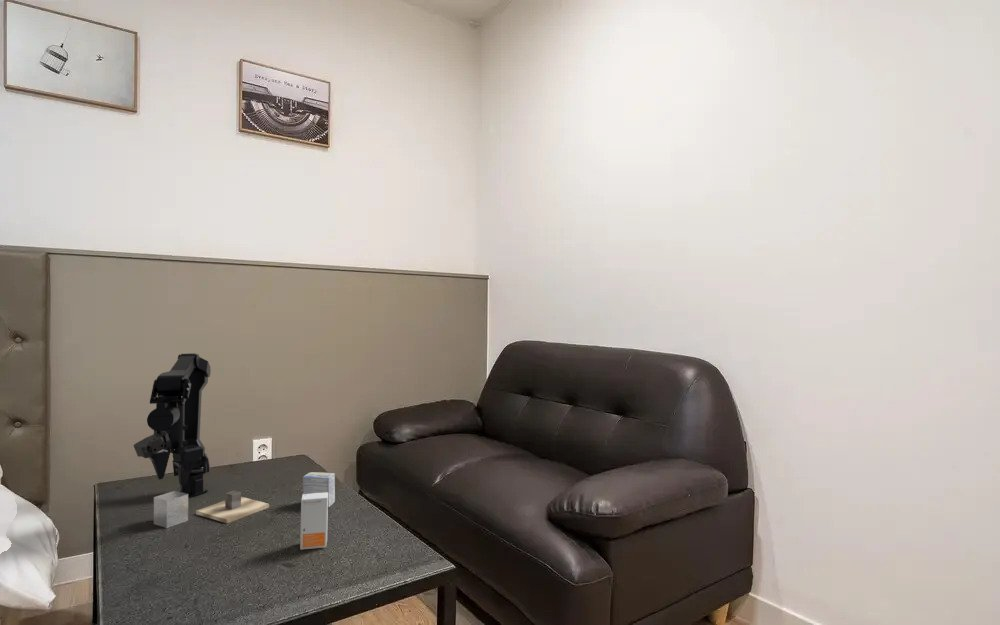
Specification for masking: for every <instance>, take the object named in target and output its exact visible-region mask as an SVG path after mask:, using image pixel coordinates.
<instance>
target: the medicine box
mask: <svg viewBox="0 0 1000 625" xmlns="http://www.w3.org/2000/svg"><path fill="white" fill-rule="evenodd" d="M335 487H336V473H334V472H319V471H318V472H312V471H311V472H308V473H307V474H305V475H304V476H302V494H312V493H325V492H328V508H330V507H331V506H332V505H333V504H334V503H335V501H336V496H335V495H336V492H335V490H336V488H335Z"/></svg>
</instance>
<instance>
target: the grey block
mask: <svg viewBox="0 0 1000 625" xmlns="http://www.w3.org/2000/svg"><path fill="white" fill-rule="evenodd" d="M188 521H189V498H188V494H186V493H182V492H179V491H177V490H173V491H169V492H166V493H163V494H160V495H157V496H153V525H156V526H159V527H162V528H165V529H168V528H171V527H175V526H176V525H179V524H182V523H185V522H188Z"/></svg>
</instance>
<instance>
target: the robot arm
mask: <svg viewBox="0 0 1000 625" xmlns="http://www.w3.org/2000/svg"><path fill="white" fill-rule="evenodd" d="M211 369H212V368H211V365H210V363H209V361H208V360H207V359H204V358H203V357H201V356H200V354H199V353H193V352H192V353H189V352H187V353H180V354H178V356H177V360H176V362H175V363H174V364H173V365H172V367H171V369H170V370H169V371H165V372H161V373H159V375H158V376H157V377H156V379H154V380H153V384H152V389H151V394H150V399H149V404H150V405H153V404H155V405H156V407H155V408H154V409H153V410H152V411H150V412H149V413H148V416H147V417H146V418H147V419H146V423H147V425H148V427H149V428H150V429H151V430H152V431H153V434H152V435H151V434H150V435H149V436H146V437H145V438H143V439H141V440H139V441H138V442H135V443H134V444H133V445H132V446H133V448H134V451H135V453H136V455H137V457H139V458H140V457H141V458H143V459H149V460H150V461H151V463H152V466H153V468H154V471H155V474H156V477H157V479H158V481H159V480H163V479H164V478H165V474H166V472H167V471H166V470H167V466H168V463H169V459H170V456H171V454H172V458H173V459H172V461H171V462H172V467H173V476H174V477H177V476H178V483H179V491H178V492H182V493H186V494H188V499H189V498H192V497H195V496H199V495H201V494H205V493H207V492H209V490H208V489H206V488H204V475H206V474H207V473H210V471H211V467H210V466H211V465H210V459H209V457H208V454H207V453H206V446H205V445H204V444H203V442H202V441H201V439H200V438H201V437H200V435H201V434H200V433H201V418H202V416H201V413H202V391H203V390H204V388H205V387H206V386H207V384H208V382H209V378H210V376H211V372H212V371H211Z"/></svg>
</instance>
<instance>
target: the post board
mask: <svg viewBox="0 0 1000 625" xmlns="http://www.w3.org/2000/svg"><path fill="white" fill-rule="evenodd" d="M224 494H225V496H224V497H225V499H224V500H223V501H220V502H217V503H214V504H211V505H208V506H205V507H203V508H199V509H197V510H195V515H197V516H200V517H204V518H208V519H211V520H214V521H218V522H221V523H225V524H230V523H233V522H235V521H238V520H240V519H242V518H246V517H248V516H251V515H253V514H256V513H258V512H261V511H264V510H266V509H269V508H270V504H269V503H266V502H264V501H260V500H256V499H252V498H248V497H245V496H242V492H241V491H237V490H231V491H228V492H226V493H224Z"/></svg>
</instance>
